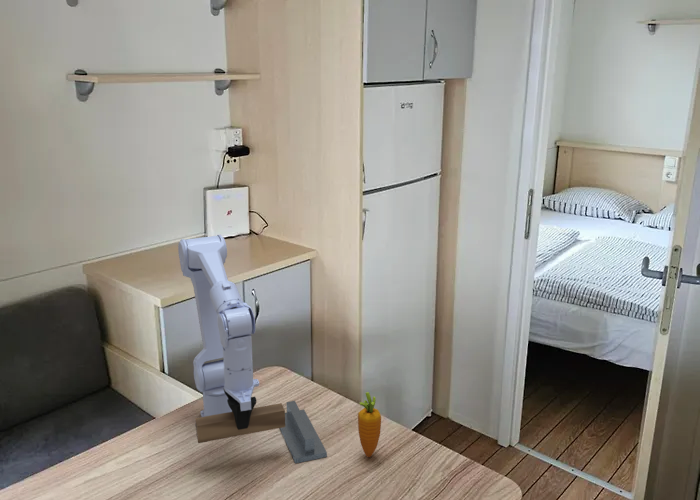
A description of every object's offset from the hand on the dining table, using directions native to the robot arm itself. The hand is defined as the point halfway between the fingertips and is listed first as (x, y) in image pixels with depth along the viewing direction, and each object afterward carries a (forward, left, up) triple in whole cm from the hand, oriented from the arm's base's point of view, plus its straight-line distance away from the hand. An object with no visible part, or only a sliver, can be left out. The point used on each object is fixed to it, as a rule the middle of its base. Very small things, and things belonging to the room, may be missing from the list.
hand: (241, 423), depth 132 cm
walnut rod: (0, 0, -2) cm, 2 cm away
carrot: (+7, +26, -10) cm, 28 cm away
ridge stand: (-5, +14, -9) cm, 17 cm away
